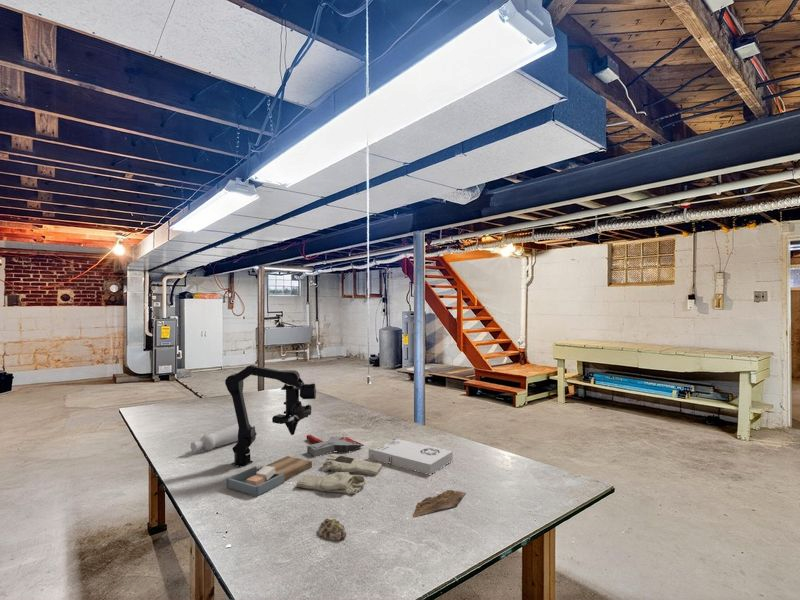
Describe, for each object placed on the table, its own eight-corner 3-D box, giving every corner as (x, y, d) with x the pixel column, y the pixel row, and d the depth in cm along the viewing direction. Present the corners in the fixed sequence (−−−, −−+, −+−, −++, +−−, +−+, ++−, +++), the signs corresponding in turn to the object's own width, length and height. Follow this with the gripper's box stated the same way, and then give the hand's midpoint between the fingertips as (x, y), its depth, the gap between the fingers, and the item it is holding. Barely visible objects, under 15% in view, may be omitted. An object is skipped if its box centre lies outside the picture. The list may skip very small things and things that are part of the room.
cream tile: (257, 478, 159) (256, 472, 159) (266, 471, 164) (264, 465, 163) (267, 480, 157) (266, 474, 157) (275, 472, 161) (274, 467, 161)
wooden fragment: (454, 488, 153) (454, 485, 153) (476, 499, 144) (476, 496, 144) (400, 510, 137) (400, 506, 137) (421, 523, 128) (421, 520, 128)
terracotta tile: (246, 486, 154) (246, 479, 154) (255, 481, 159) (255, 474, 159) (256, 488, 152) (256, 481, 152) (265, 483, 157) (265, 476, 157)
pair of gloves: (332, 461, 181) (332, 449, 182) (385, 469, 172) (385, 456, 173) (292, 489, 153) (292, 475, 153) (352, 500, 144) (352, 485, 144)
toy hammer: (332, 427, 221) (363, 441, 198) (332, 434, 221) (363, 449, 198) (291, 436, 206) (319, 452, 183) (291, 444, 206) (319, 460, 182)
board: (257, 475, 166) (257, 469, 166) (287, 461, 181) (287, 455, 181) (282, 482, 159) (282, 475, 159) (311, 467, 174) (311, 461, 174)
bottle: (239, 429, 219) (185, 447, 193) (244, 416, 216) (191, 433, 191) (248, 441, 215) (195, 461, 189) (254, 428, 213) (201, 446, 187)
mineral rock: (310, 524, 123) (332, 508, 129) (313, 536, 124) (335, 520, 129) (329, 540, 115) (352, 523, 121) (333, 553, 116) (355, 535, 121)
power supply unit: (393, 448, 199) (393, 437, 199) (452, 462, 180) (452, 451, 180) (368, 459, 184) (368, 448, 184) (430, 477, 165) (430, 464, 165)
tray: (226, 488, 154) (226, 478, 154) (255, 475, 166) (255, 466, 166) (256, 497, 146) (256, 487, 146) (284, 482, 158) (284, 473, 158)
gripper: (290, 405, 169) (290, 443, 168) (320, 397, 185) (320, 431, 185) (271, 402, 174) (271, 439, 174) (301, 394, 190) (301, 428, 190)
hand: (292, 434), depth 180 cm, fingers closed
